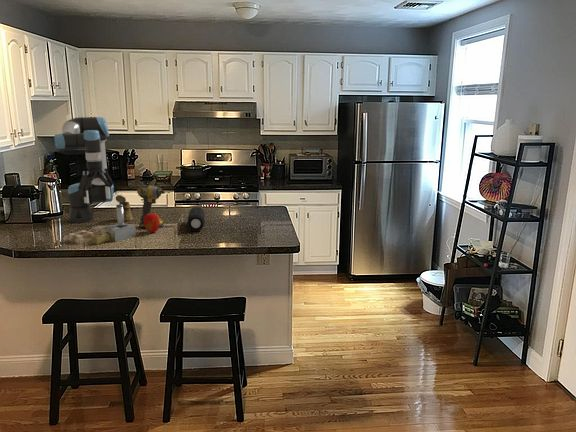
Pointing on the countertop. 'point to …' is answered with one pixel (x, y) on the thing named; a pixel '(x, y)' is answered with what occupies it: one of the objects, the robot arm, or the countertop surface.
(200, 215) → the portable speaker
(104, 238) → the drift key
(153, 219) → the apple
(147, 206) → the cordless drill
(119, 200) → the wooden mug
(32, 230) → the countertop surface
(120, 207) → the rod
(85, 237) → the wooden square frame
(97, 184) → the robot arm
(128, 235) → the socket block
